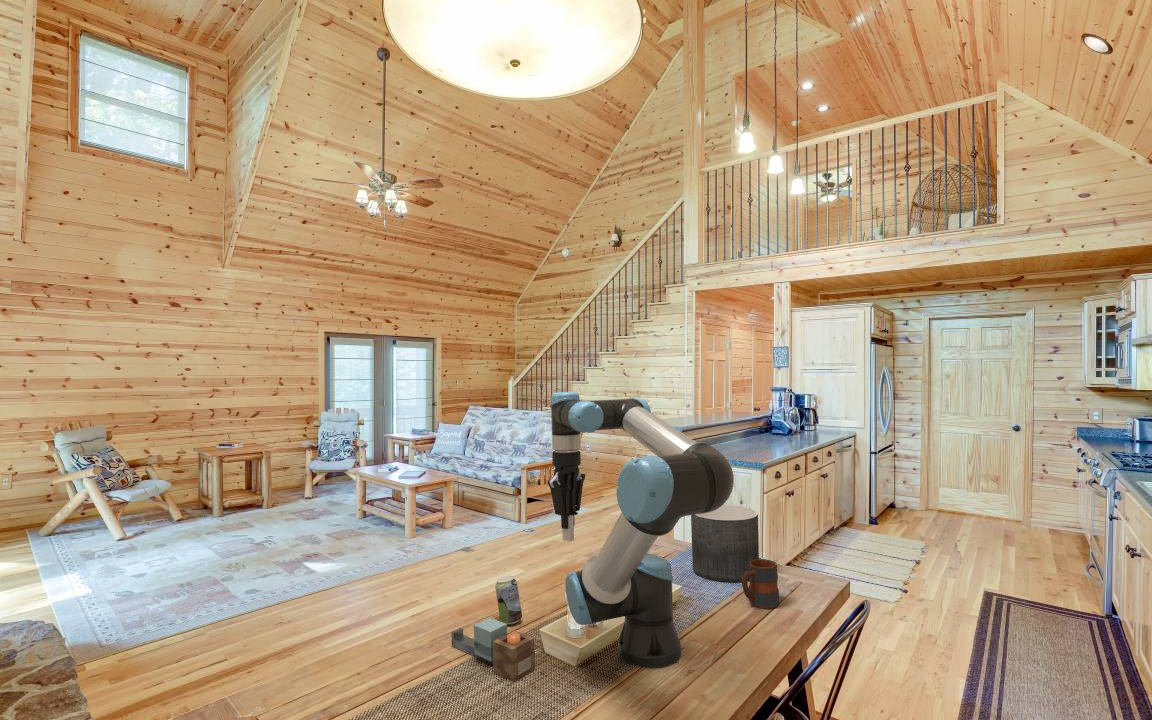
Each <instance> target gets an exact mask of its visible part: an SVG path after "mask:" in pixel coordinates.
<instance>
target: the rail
mask: <svg viewBox="0 0 1152 720" xmlns="http://www.w3.org/2000/svg"><path fill="white" fill-rule="evenodd" d="M450 634H451V635H450V637H451V647H453V648H456V649H458V650H460V651H462V652H463V653H466V654H468V655H471V656H472V657H475V658H477V659H479V660H481V661H484V662H486V663H487V664H490V665H492V666H493V661H489V660H487V659H485V658H483V657H481V656H478V655H476V654H474V638H473V637H469V636H467V635H465V634H464V628H462V627H459V628H457V629H455V630H453V631H451V633H450Z"/></svg>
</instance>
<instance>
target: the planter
mask: <svg viewBox="0 0 1152 720" xmlns="http://www.w3.org/2000/svg"><path fill="white" fill-rule="evenodd" d="M690 526H691V557H692V559H691V560H692V571H693V573H694V574H696V575H697V576H699V577H701V578H704V579H708V580H710V581H716V582H722V583H740V582H741V583H742V576H743V574H744V573H745V572H748V571H749V563H750V561H752V560H757V559H760V543H759V542H760V541H759V540H760V538H759V536H760V535H759V532H760V531H759V512H758V511H757V510H755V509H753V508H751V507H747V506H742V505H735V504H727V503H726V504H725V503H724V504H723V505H722V506H721V507H719V508H718V509H716V510H714V511H712V512H708V513H701V514H696V515H690ZM748 581H750V578H749V577H748V578H747V582H748Z"/></svg>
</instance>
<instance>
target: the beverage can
mask: <svg viewBox="0 0 1152 720" xmlns="http://www.w3.org/2000/svg"><path fill="white" fill-rule="evenodd" d="M494 589H495V593H496V602H497V607H498V614H499V620H500V622H503V623H505V624H507V625H513V624H516V623H518V622H520V620H521V619H522V618H523V612H522V607H521V600H520V599H521V598H520V593H519V588H518V581H517V580H516V578H515V577H514V576H513V575H512V576H511V575H508V576H503V577H501V578H498V579H497V580H496V583H495V587H494Z"/></svg>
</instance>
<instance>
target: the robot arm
mask: <svg viewBox="0 0 1152 720" xmlns="http://www.w3.org/2000/svg"><path fill="white" fill-rule="evenodd" d="M550 399H551V402H550V410H551V413H550V414H551V419H550V420H551V445H552V446H551V447H552V448H551V449H552V450H554V451H552V453H551V457H552V459H551V460H552V466H554V473H553V477H552V479H548V480H547V485H548V487H549V488H550V493H551V499H552V503H553V510H554V514H555V515H558V516H560V523H561V525H560V527H561V529H562V530H561V531H562V540H563V541H566V542H573V541H575V516H577V515H578V514H579V512H580V510H581V503H582V495H583V487H584V481H585V478H586V474H585V473H581V472H580V468H579V466H580V465H581V463H582V459H581V457H582V455H581V451H580V450H581V447H582V446H581V445H582V444H581V434H582V433H583V434H584V433H587V434H588V433H593V432H596V431H606V430H608V431H609V430H623V431H624V432H626V433H627V434H628V435H629V436H630V437H632V438H633V439H634V440H636V441H637V442H638V443H640V444H641V445H642V446H643V447H645V448H646V449H647V450H648V451H650V452H651V453H652V454H651V455H645V456H643V457H638V458H632V459H631V460H629V461H628V462H626V463H625V464H624V466H622V468H621V470H620V472H619V474H618V477H617V482H616V483H617V485H618V487H616V499H617V500H616V501H617V505H618V507H619V510H620V511H621V513H620V515H619V516H618V518H617V519H616V522H615V524H614V525H613V527H612V529H611V530H610V532H609V534H608V536H607V538H606V540H605V541H604V544H603V545H602V547H601V549H600V550H599V553H597V555H595V556H593V557H591V558H589V559H588V560H587V561H586V563H584V565H583V567H582V569H581V570H577V571H576V570H573V571H570V572H569V573H568V574H567V575H566V577H565V582H564V584H565V594H566V595H565V596H566V600H567V605H568V608H569V610H570V611H569V612H570V614H571V616H572V618H573V619H574V622H576V624H578V625H580V626H585V625H591V626H592V625H593V624H595V623H599V622H601V623H602V622H605V621H609V620H615V619H618V618H622V617H624V622H623V626H622V627H621V628H622V629H621V632H620V634H619V639H618V646H617V647H618V655H619V656H620V658H621V659H622V660H623V661H625V662H626V663H628V664H631V665H633V666H636V667H643V668H653V669H654V668H655V669H656V668H663V667H667V666H670V665H673V664H675V663H676V662H678V661H679V660H680V658H681V656H682V643H681V641H680V639H679V635H678V631H677V629H676V626H675V623H674V618H673V617H674V616H673V615H674V614H673V613H674V611H673V610H674V609H673V605H674V604H673V581H674V578H673V574H672V565H671V563H670V561H669V560H668V559H666V558H664V557H662V556H659V555H657V554H653V553H648V552H649V551H650V549H651V548H652V546H653V545H654V544H655V542H656V541H657V539H658V537H662V536H665V535H667V534H669V533H671V531H673V529H674V528H675V526H676V525H677V523H678V522H679V521H680V520H681V519H682V518H683V517H688V516H691V515H696V514H701V513H708V512H712V511H714V510H716V509H718V508H719V507H721V506H722V505H723V504H725V503H726V502H727V501H728V500H729V499H730V497H731V494H732V492H733V489H734V485H735V483H734V482H735V476H734V471H733V468H732V466H731V463H730V462H729V460H728V459H727V457H726V456H725V455H724V454H723V453H721V452H720V450H719V449H716V447H713V446H712V445H711V444H708V443H707V442H703V441H698V442H697V441H696V440H693V439H692V438H691V437H689V436H687V435H686V434H684V433H682V432H681V431H679V430H678V429H677V428H675V427H673V426H672V425H670V424H669V423H668V422H665V420H662V419H661V418H660V417H658V416H657V415H655V414H654V413H652V411H651V407H650V405H649V404H648V401H646V400H645V399H644V398H633V397H630V398H620V399H602V400H601V399H600V400H598V399H597V400H580V394H579V393H578V392H576V391H563V392H562V391H560V392H559V391H558V392H557V391H556V392H554V393H552V395H551V398H550ZM653 454H654V455H653Z"/></svg>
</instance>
